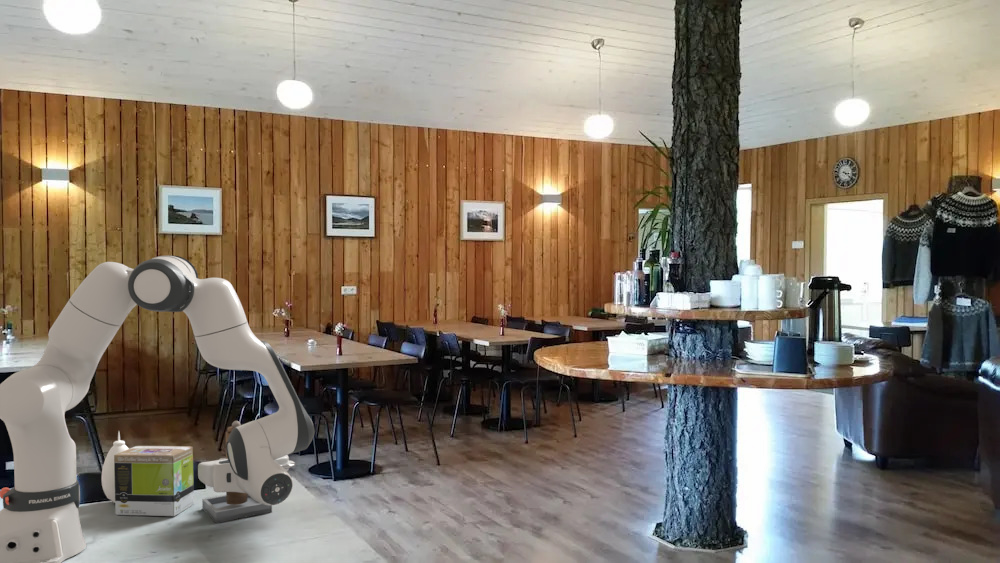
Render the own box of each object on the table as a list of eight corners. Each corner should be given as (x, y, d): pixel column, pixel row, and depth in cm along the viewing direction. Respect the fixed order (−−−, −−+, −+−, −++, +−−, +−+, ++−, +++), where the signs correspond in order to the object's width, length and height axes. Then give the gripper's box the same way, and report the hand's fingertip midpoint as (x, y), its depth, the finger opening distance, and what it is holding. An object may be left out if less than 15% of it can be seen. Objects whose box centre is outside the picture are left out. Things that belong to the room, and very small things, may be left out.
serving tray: (216, 522, 177) (216, 512, 177) (202, 508, 187) (202, 499, 187) (271, 512, 185) (271, 502, 185) (255, 499, 194) (255, 489, 194)
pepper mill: (229, 505, 182) (228, 423, 182) (223, 500, 186) (223, 420, 186) (250, 502, 185) (249, 421, 185) (243, 497, 189) (243, 418, 188)
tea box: (195, 504, 191) (194, 445, 190) (174, 518, 181) (173, 455, 180) (137, 502, 192) (136, 443, 192) (113, 515, 182) (112, 453, 182)
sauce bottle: (124, 495, 197) (123, 426, 197) (144, 500, 193) (143, 429, 193) (95, 504, 190) (94, 432, 190) (115, 509, 186) (113, 435, 186)
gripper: (297, 452, 181) (277, 440, 192) (207, 465, 169) (191, 452, 180) (297, 478, 181) (277, 465, 192) (207, 493, 169) (192, 479, 180)
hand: (235, 459), depth 186 cm, fingers closed on pepper mill, 5 cm apart
